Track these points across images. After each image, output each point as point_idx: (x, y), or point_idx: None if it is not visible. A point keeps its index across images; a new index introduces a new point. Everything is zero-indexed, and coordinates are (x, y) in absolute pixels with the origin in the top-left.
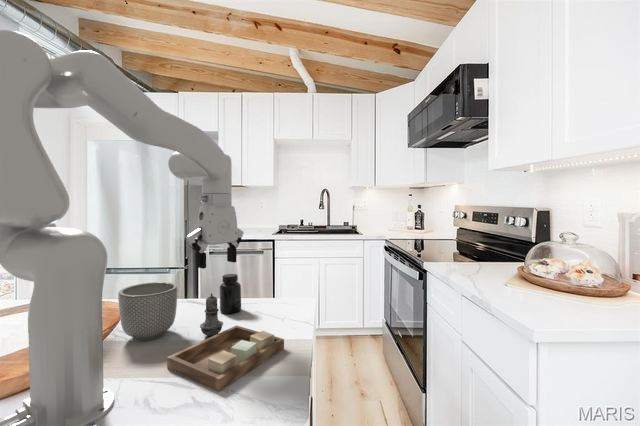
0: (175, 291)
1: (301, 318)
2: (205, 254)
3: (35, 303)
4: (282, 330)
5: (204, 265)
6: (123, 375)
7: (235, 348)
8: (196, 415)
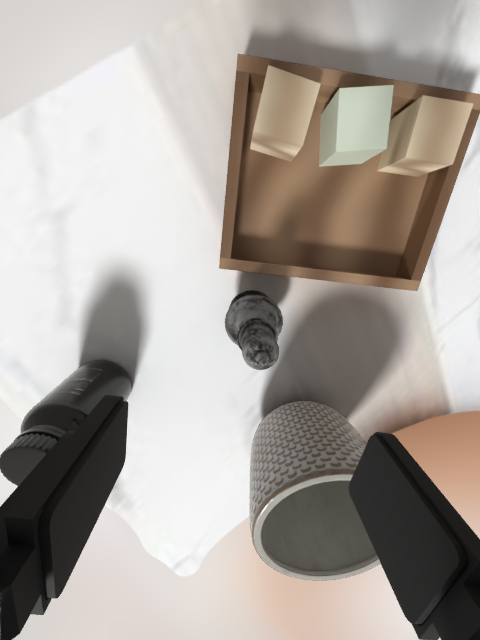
0: (298, 470)
1: (14, 157)
2: (466, 539)
3: None
4: (127, 166)
5: (400, 446)
6: (426, 340)
7: (387, 130)
8: None
